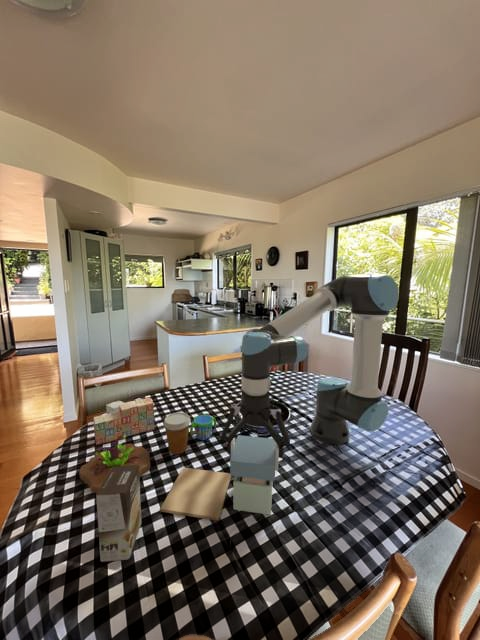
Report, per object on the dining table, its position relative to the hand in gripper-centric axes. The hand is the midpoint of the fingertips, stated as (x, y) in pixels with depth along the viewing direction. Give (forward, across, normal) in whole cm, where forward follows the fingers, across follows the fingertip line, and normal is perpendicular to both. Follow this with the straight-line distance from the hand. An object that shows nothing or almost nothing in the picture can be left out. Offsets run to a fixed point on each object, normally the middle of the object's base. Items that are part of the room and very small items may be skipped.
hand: (254, 464), depth 73 cm
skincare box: (+10, +65, -32) cm, 73 cm away
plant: (+11, +45, -4) cm, 47 cm away
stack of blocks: (+10, +54, -22) cm, 60 cm away
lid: (0, 0, 0) cm, 0 cm away
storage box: (+10, 0, 0) cm, 10 cm away
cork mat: (+10, +16, +1) cm, 19 cm away
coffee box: (+10, +29, +18) cm, 36 cm away
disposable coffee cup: (+10, +30, -17) cm, 36 cm away
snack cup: (+10, +23, -26) cm, 36 cm away
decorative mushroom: (+10, +2, -85) cm, 86 cm away
